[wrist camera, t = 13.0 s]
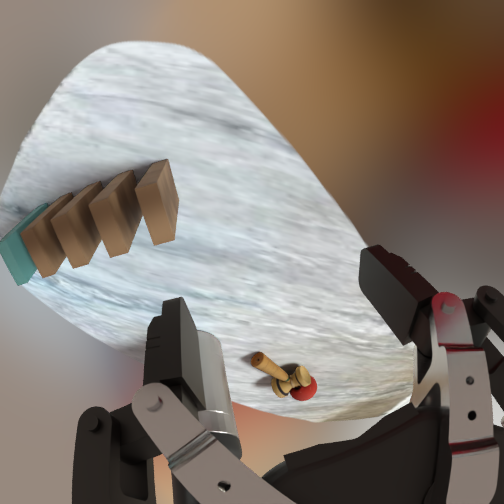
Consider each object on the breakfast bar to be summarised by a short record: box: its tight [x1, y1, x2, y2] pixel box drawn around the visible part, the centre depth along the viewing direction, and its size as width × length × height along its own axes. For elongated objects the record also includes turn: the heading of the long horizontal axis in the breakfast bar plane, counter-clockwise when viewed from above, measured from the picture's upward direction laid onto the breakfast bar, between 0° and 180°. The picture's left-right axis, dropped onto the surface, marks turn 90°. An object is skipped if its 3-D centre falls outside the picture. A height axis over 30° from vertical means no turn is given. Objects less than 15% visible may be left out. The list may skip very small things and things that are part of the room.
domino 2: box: [50, 181, 103, 269], centre depth 23 cm, size 5×2×10 cm, turn 10°
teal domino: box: [0, 203, 48, 286], centre depth 23 cm, size 5×2×10 cm, turn 9°
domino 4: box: [135, 159, 179, 245], centre depth 24 cm, size 5×2×10 cm, turn 10°
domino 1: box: [20, 192, 73, 278], centre depth 23 cm, size 5×2×10 cm, turn 10°
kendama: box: [251, 352, 317, 401], centre depth 49 cm, size 8×6×18 cm
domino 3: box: [89, 170, 143, 258], centre depth 24 cm, size 5×2×10 cm, turn 10°
